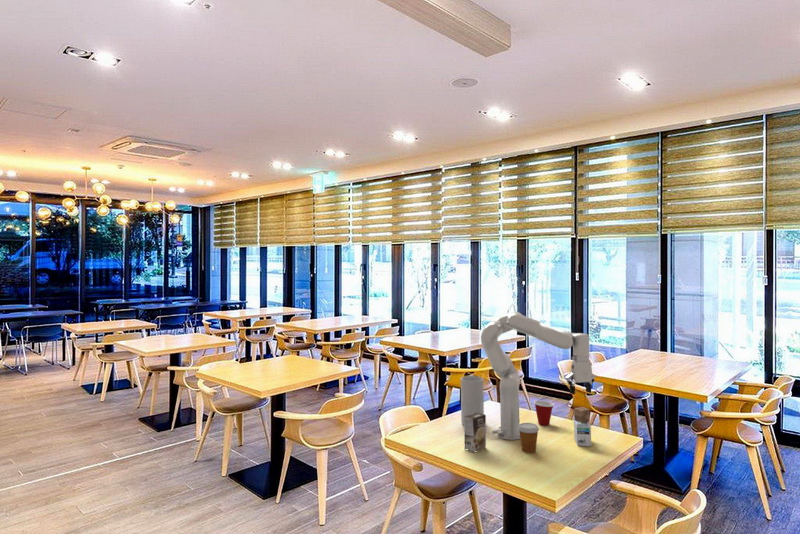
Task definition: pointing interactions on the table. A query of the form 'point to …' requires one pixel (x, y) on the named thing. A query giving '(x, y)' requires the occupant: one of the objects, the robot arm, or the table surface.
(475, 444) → the coffee box
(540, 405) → the plastic cup
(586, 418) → the walnut block
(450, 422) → the table surface
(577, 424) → the light bulb box
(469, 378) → the cylinder vase
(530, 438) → the disposable coffee cup
